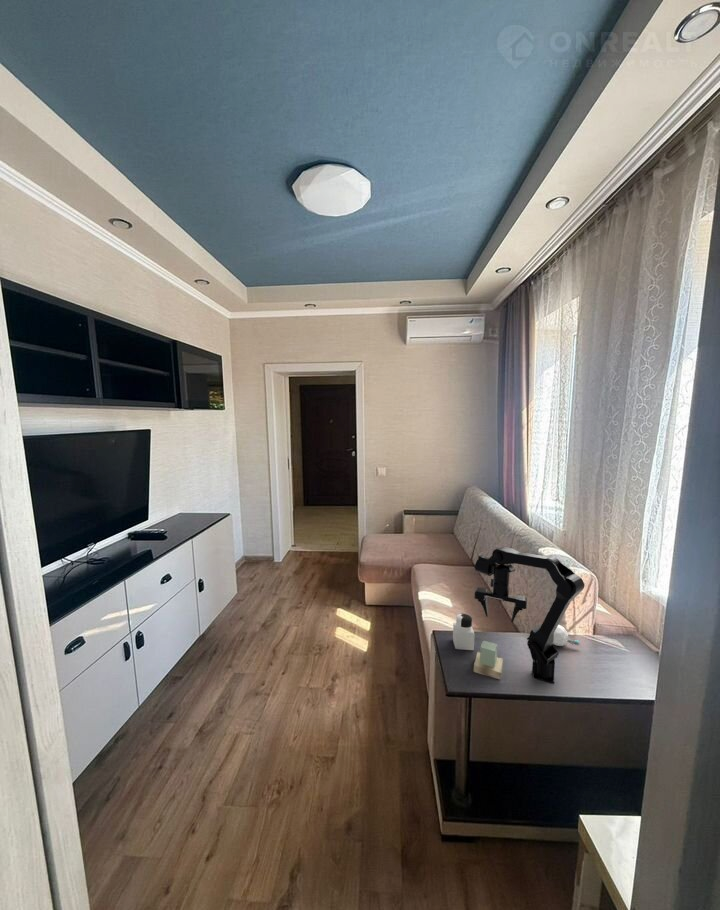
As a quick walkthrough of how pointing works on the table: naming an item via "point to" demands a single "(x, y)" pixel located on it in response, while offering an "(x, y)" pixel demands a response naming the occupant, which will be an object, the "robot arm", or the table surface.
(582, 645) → the table surface
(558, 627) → the perfume bottle
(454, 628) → the medicine bottle
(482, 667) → the oak slab
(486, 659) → the green block
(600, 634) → the table surface
